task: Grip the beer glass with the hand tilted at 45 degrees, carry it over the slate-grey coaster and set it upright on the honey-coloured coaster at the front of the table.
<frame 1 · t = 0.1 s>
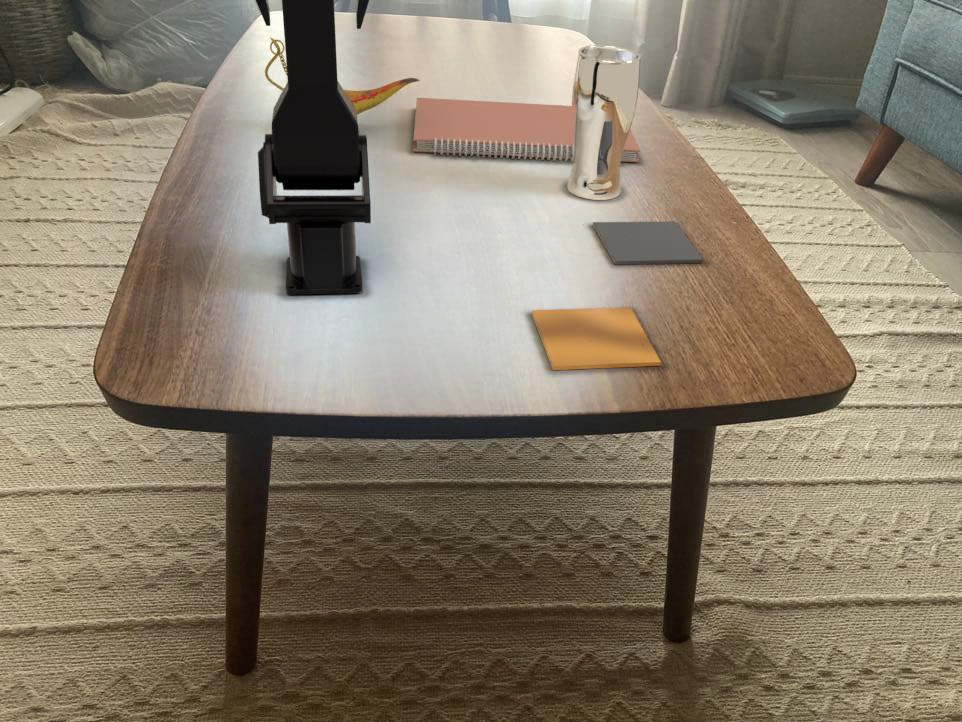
hand: (313, 26, 97), 15 cm above the table, tool pointing down, fingers open, 9 cm apart
beer glass: (593, 191, 106), on the table
slate coaster: (645, 243, 95), on the table
notebook: (523, 139, 118), on the table
honey coaster: (593, 339, 78), on the table
magic lamp: (345, 134, 114), on the table
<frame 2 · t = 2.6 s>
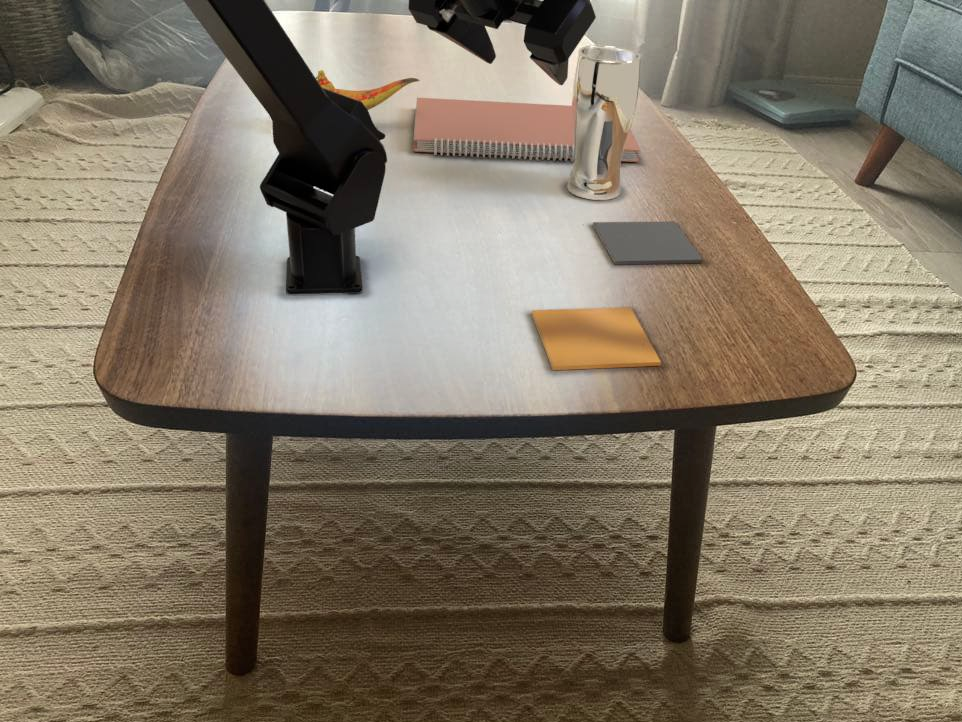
hand: (527, 70, 95), 13 cm above the table, tool tilted 40°, fingers open, 9 cm apart
nothing on the table moved.
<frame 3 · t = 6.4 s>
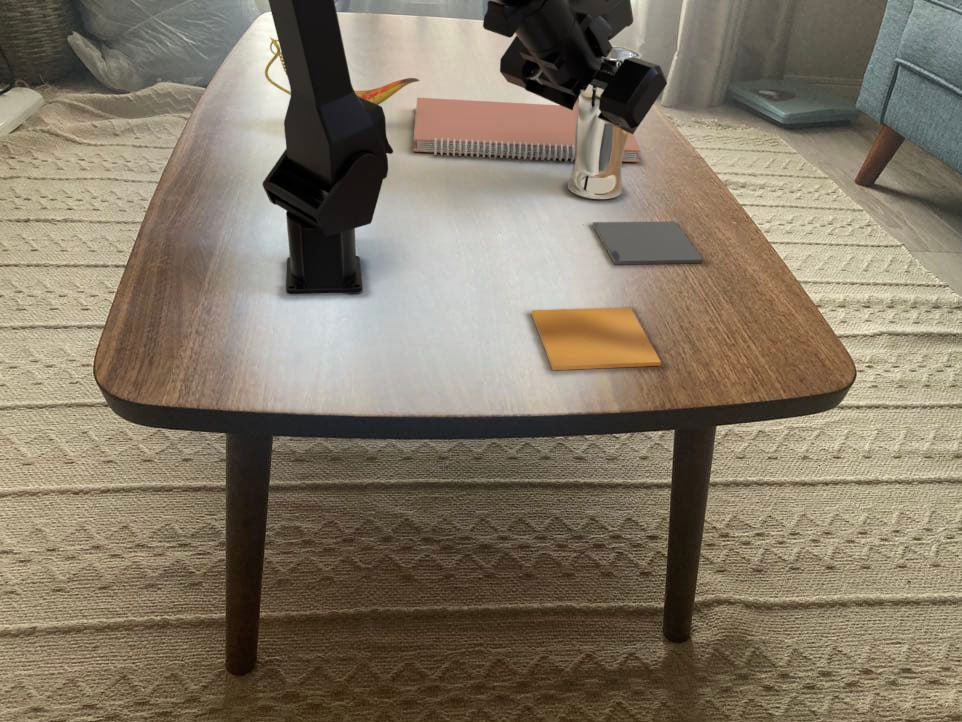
hand: (610, 120, 102), 8 cm above the table, tool tilted 45°, fingers closed on beer glass, 7 cm apart
beer glass: (594, 191, 105), on the table, touching gripper
everything else where it was.
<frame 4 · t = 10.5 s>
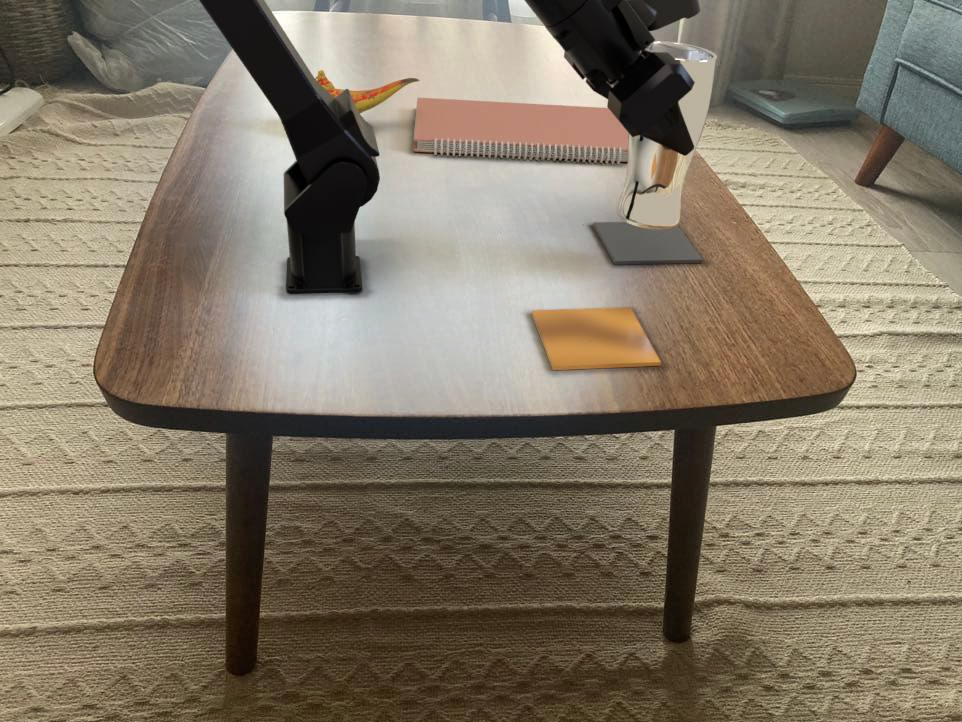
hand: (675, 137, 83), 13 cm above the table, tool tilted 45°, fingers closed on beer glass, 7 cm apart
beer glass: (647, 219, 87), point 5 cm above the table, touching gripper
everything else where it was.
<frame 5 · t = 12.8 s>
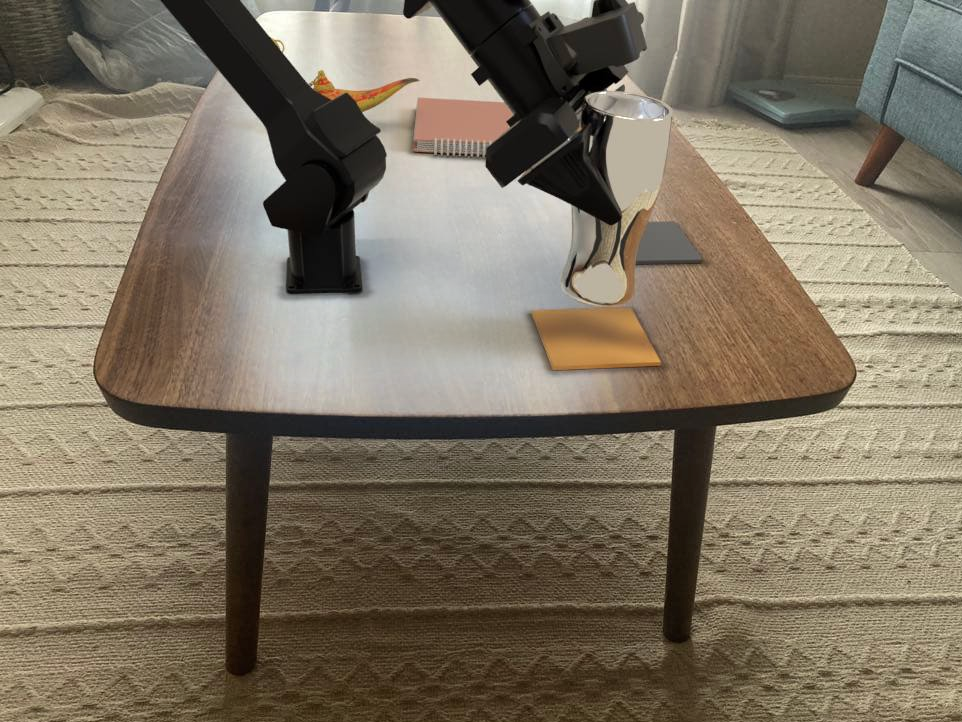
hand: (627, 204, 71), 12 cm above the table, tool tilted 45°, fingers closed on beer glass, 7 cm apart
beer glass: (596, 291, 76), point 5 cm above the table, touching gripper
everything else where it was.
when the fingers open (8 cm above the table, at t = 14.7 s): beer glass stays where it is, resting on honey coaster.
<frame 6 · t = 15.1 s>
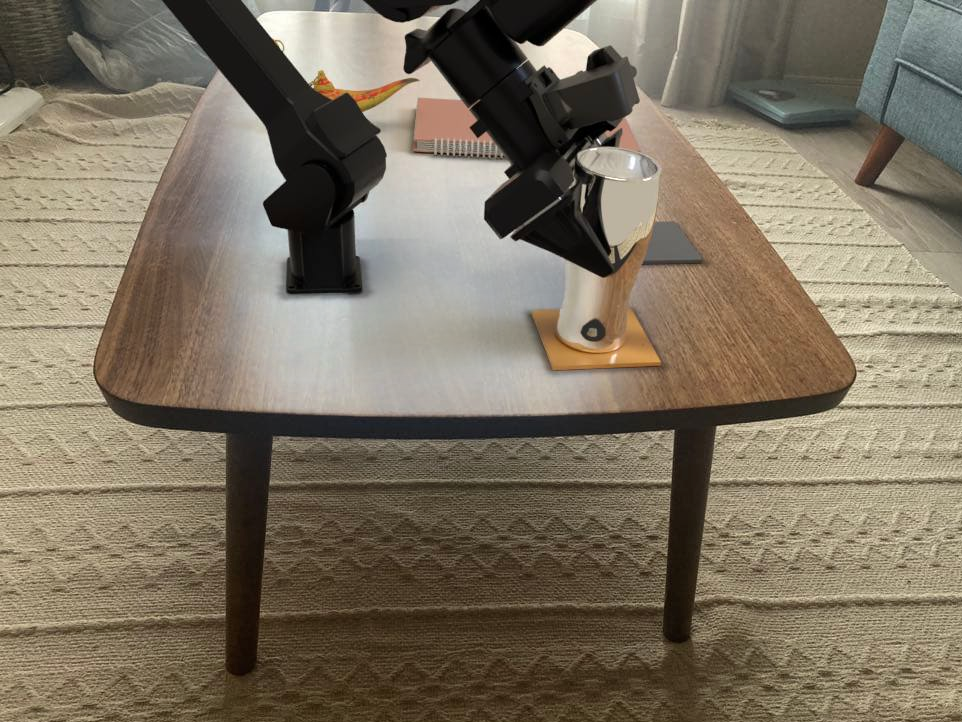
hand: (623, 249, 73), 9 cm above the table, tool tilted 45°, fingers open, 9 cm apart
beer glass: (590, 336, 78), resting on honey coaster
everything else where it was.
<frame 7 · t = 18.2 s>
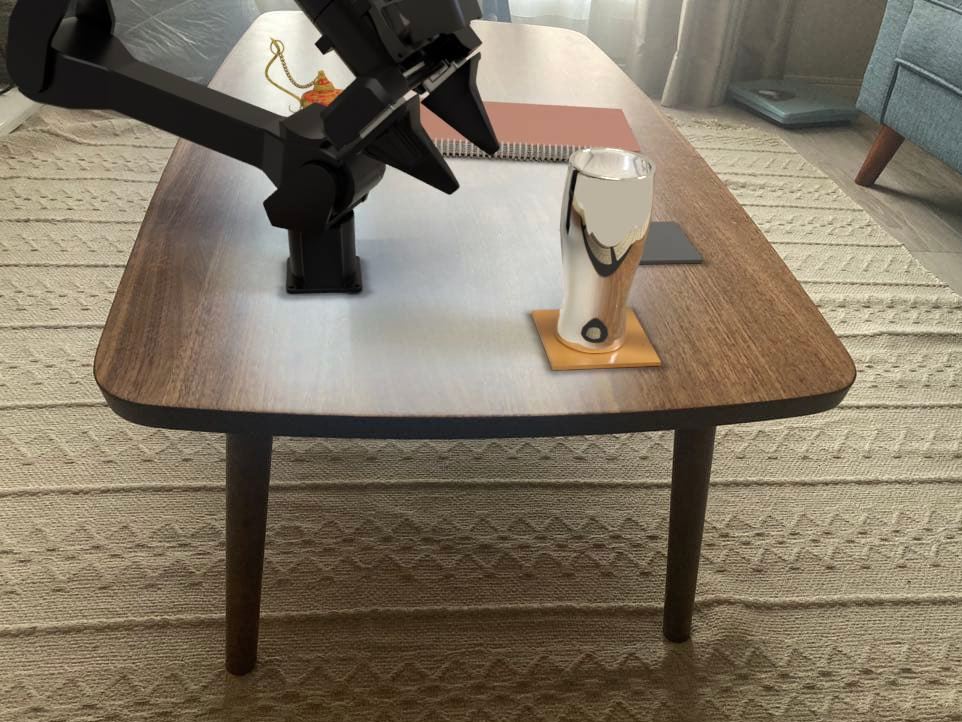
hand: (476, 170, 73), 13 cm above the table, tool tilted 45°, fingers open, 9 cm apart
nothing on the table moved.
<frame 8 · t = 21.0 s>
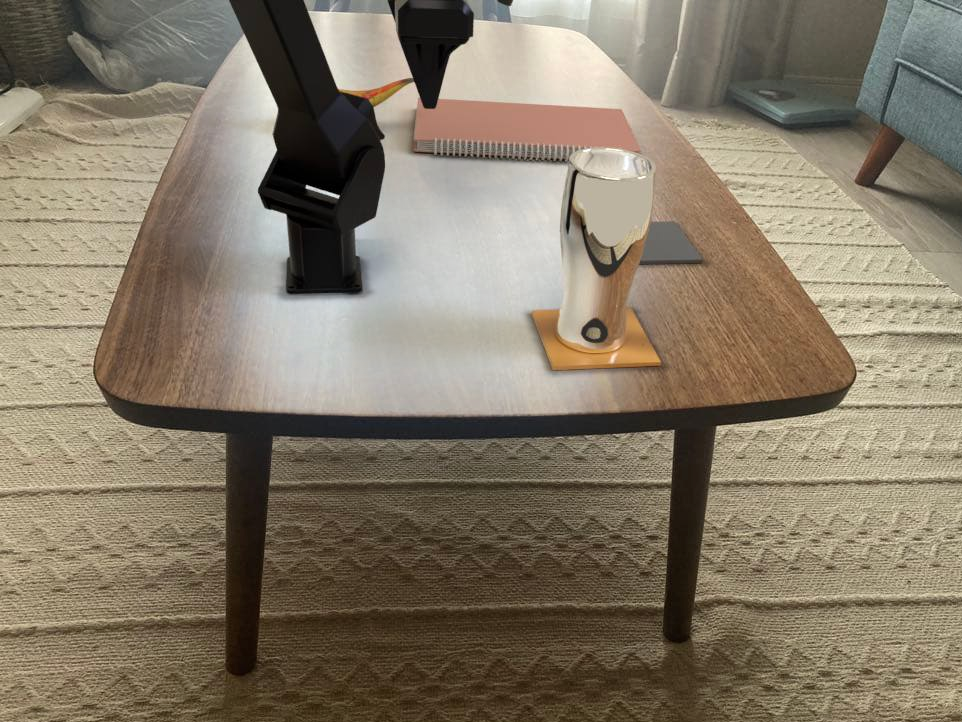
hand: (424, 92, 88), 13 cm above the table, tool pointing down, fingers open, 9 cm apart
nothing on the table moved.
at the end: beer glass 0.3 cm off-centre on the honey coaster, point 0.2 cm above the honey coaster's base; beer glass tilted 0°; beer glass touching honey coaster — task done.
